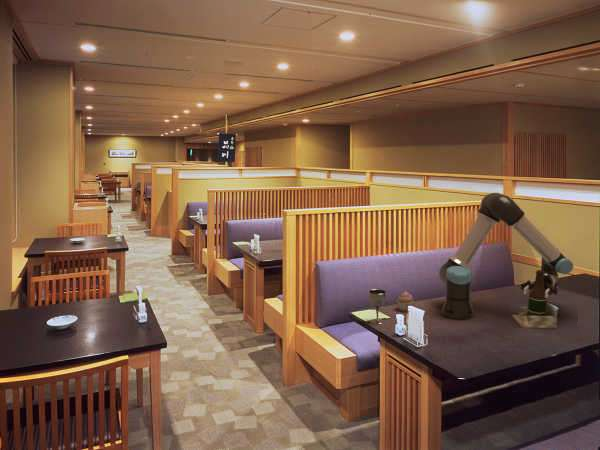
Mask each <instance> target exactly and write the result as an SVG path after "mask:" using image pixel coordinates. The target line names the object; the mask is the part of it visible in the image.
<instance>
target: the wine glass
mask: <svg viewBox="0 0 600 450" xmlns="http://www.w3.org/2000/svg"><path fill="white" fill-rule="evenodd" d="M386 294H387V292H386V290H384V289H379V288H377V289H376V288H374V289H370V290H368V297H369V302H370V304H371V305H372V306H373V307H374V309H375V313H376V318H372V319H370V320H369V322H370V323H371V324H374V325H382V324H384V323H385V322H386V321H385V320H384V319H382V318H379V311H380V309H381V308H382V306H383V305H385V302H386V299H387V298H386V297H387V295H386Z"/></svg>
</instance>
